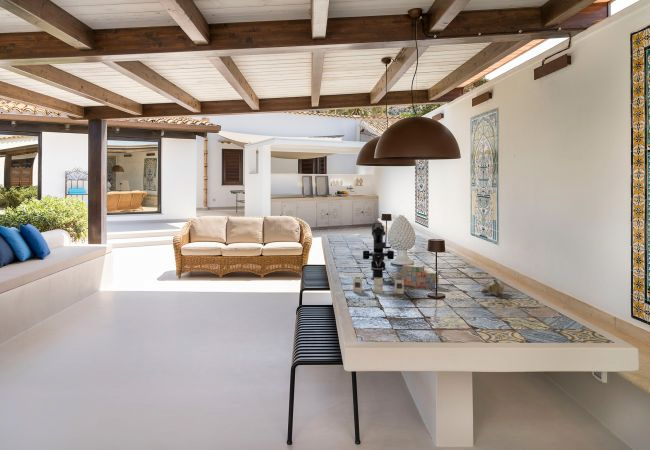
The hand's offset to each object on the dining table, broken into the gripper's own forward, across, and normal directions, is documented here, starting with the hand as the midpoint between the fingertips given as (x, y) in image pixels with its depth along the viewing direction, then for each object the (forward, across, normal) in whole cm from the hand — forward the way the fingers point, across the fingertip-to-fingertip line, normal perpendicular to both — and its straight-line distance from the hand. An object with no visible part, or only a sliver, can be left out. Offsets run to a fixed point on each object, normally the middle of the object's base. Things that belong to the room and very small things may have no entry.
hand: (378, 266), depth 289 cm
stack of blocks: (+3, +26, +18) cm, 31 cm away
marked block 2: (+16, +12, +3) cm, 20 cm away
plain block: (+16, 0, +3) cm, 16 cm away
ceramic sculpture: (+16, +66, +5) cm, 68 cm away
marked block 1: (+16, -12, +3) cm, 20 cm away
